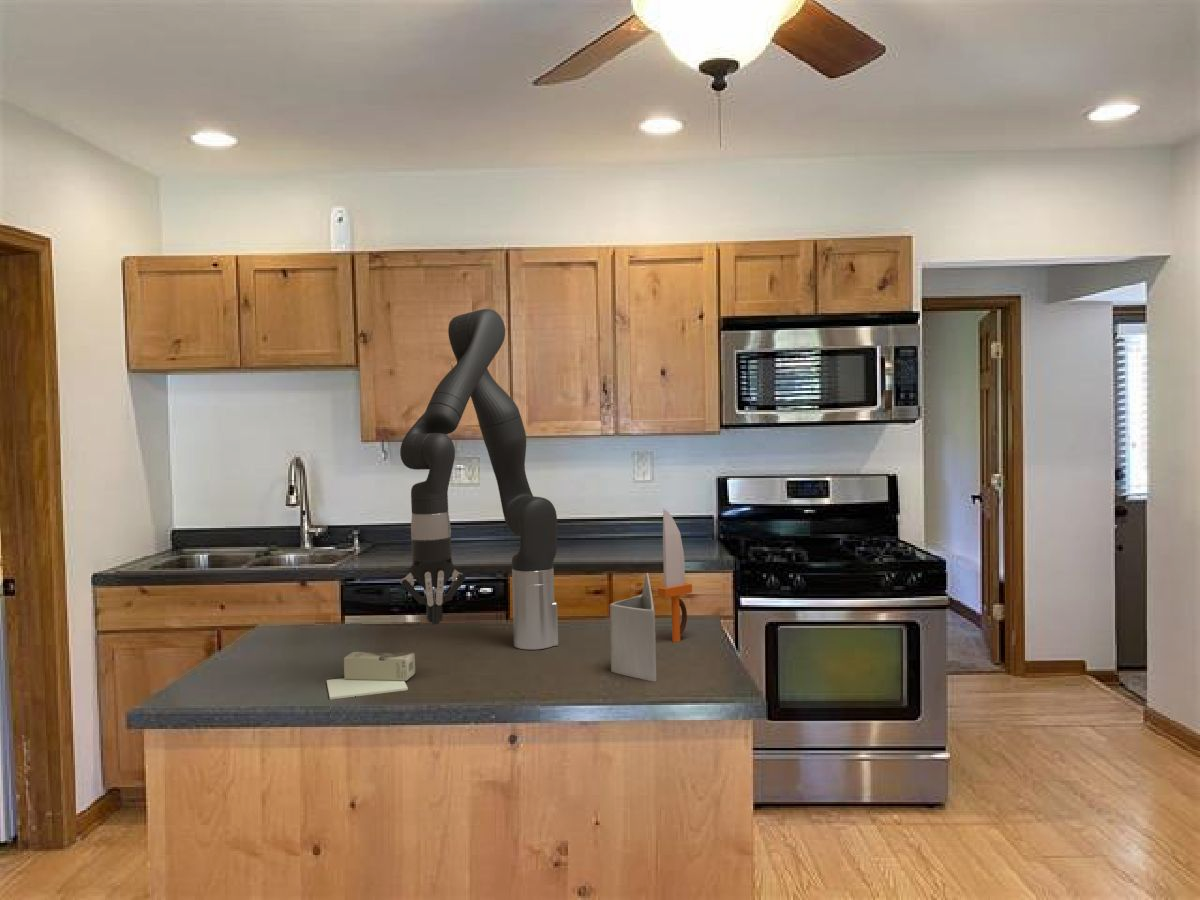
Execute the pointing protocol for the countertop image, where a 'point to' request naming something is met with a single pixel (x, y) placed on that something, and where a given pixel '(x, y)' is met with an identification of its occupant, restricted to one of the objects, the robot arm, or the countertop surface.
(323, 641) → the countertop surface
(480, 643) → the countertop surface
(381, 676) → the box
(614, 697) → the countertop surface
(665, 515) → the knife
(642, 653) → the planter
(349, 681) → the sage mat
